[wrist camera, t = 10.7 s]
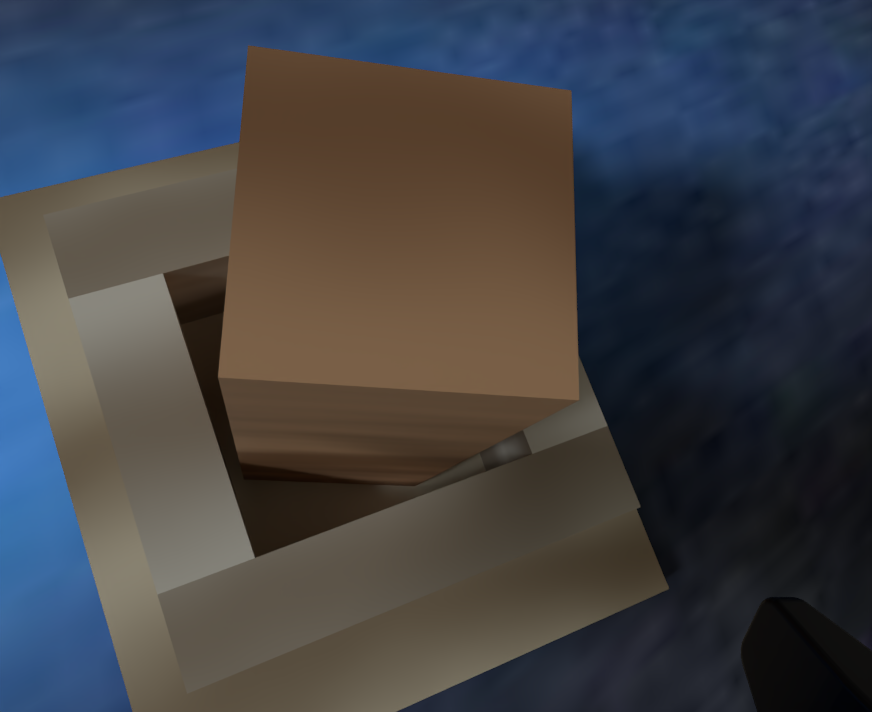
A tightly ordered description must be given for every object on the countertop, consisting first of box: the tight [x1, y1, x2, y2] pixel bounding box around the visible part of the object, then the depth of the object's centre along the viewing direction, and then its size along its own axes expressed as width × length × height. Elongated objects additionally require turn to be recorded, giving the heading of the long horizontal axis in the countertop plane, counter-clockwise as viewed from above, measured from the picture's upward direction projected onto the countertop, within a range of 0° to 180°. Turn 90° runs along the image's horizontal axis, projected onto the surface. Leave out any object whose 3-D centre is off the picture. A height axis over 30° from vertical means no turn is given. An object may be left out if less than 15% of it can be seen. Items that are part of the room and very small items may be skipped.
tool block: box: [0, 142, 669, 712], centre depth 20 cm, size 16×14×5 cm
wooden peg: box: [218, 46, 579, 486], centre depth 16 cm, size 4×4×12 cm
